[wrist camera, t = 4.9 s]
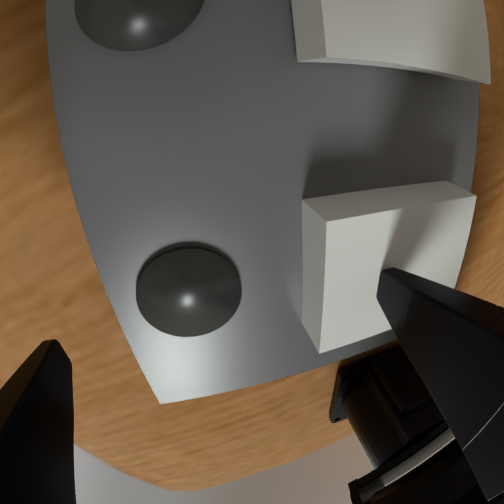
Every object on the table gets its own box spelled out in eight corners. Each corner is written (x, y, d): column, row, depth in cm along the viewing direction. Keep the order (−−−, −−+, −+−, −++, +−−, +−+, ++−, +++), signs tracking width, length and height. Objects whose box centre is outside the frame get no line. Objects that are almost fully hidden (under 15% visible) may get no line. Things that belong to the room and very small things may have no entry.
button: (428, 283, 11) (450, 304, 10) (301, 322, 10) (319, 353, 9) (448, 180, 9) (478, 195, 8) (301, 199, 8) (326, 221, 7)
